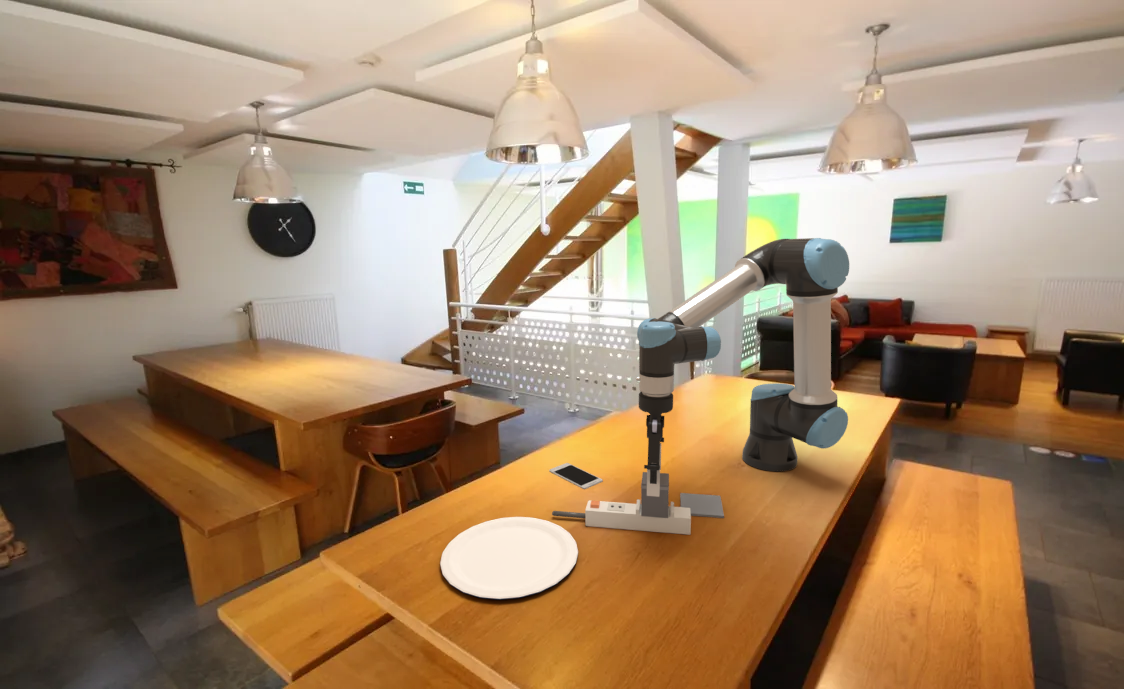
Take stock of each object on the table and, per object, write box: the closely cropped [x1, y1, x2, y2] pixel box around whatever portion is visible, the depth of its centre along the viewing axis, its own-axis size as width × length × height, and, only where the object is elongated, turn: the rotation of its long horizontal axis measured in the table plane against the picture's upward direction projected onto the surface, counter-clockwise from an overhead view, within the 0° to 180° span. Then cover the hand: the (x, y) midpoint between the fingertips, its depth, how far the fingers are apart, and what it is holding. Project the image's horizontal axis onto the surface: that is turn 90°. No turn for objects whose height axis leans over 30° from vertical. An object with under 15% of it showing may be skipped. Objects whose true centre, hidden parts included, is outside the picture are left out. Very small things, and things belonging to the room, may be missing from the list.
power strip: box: [551, 498, 692, 536], centre depth 124 cm, size 33×5×5 cm, turn 78°
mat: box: [679, 492, 725, 519], centre depth 131 cm, size 10×10×1 cm
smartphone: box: [548, 462, 604, 490], centre depth 150 cm, size 7×16×1 cm, turn 40°
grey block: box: [640, 471, 670, 518], centre depth 121 cm, size 6×6×8 cm
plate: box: [439, 516, 579, 601], centre depth 113 cm, size 29×29×2 cm
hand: (654, 481), depth 121 cm, fingers open, 13 cm apart
